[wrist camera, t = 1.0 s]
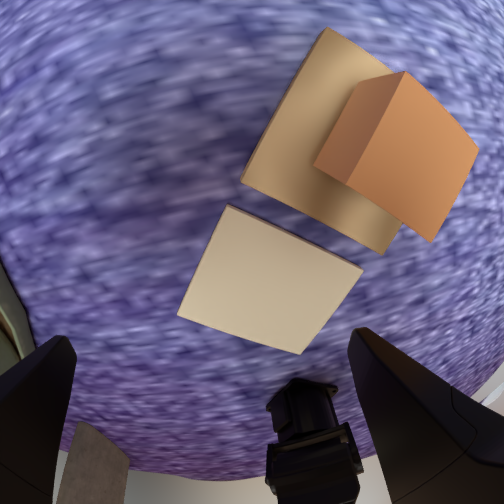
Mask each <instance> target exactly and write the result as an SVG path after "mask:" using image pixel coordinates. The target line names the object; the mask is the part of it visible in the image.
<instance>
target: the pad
mask: <svg viewBox="0 0 504 504" xmlns="http://www.w3.org/2000/svg"><path fill="white" fill-rule="evenodd" d="M362 273H363V269H362V268H361V267H359V266H357V265H355V264H353V263H351V262H349V261H347V260H345V259H343V258H341V257H339V256H337V255H335V254H333V253H331V252H329V251H327V250H325V249H323V248H321V247H319V246H317V245H315V244H313V243H311V242H309V241H306V240H304V239H302V238H300V237H298V236H296V235H294V234H292V233H290V232H288V231H285V230H283V229H281V228H279V227H277V226H275V225H273V224H270V223H268V222H266V221H264V220H262V219H260V218H258V217H255V216H253V215H251V214H249V213H247V212H244V211H242V210H240V209H238V208H236V207H233V206H231V205H229V204H227V205H226V207H225V209H224V211H223V213H222V215H221V217H220V219H219V221H218V224H217V226H216V228H215V230H214V232H213V234H212V236H211V238H210V240H209V243H208V245H207V247H206V249H205V251H204V253H203V255H202V258H201V260H200V262H199V264H198V266H197V268H196V271H195V273H194V275H193V277H192V280H191V282H190V284H189V286H188V288H187V291H186V293H185V295H184V298H183V300H182V302H181V304H180V307H179V309H178V312H177V315H178V316H181V317H184V318H186V319H189V320H192V321H194V322H197V323H200V324H203V325H206V326H208V327H211V328H214V329H217V330H220V331H223V332H226V333H229V334H232V335H235V336H238V337H241V338H244V339H248V340H251V341H254V342H257V343H261V344H264V345H267V346H271V347H274V348H278V349H281V350H285V351H288V352H292V353H296V354H299V355H300V354H301V353H302V352H303V351H304V349H305V348H306V347H307V346H308V345H309V343H310V342H311V341H312V340H313V338H314V337H315V336H316V335H317V333H318V332H319V331H320V330H321V328H322V327H323V326H324V325H325V323H326V322H327V321H328V319H329V318H330V317H331V316H332V314H333V313H334V312H335V310H336V309H337V308H338V306H339V305H340V304H341V302H342V301H343V299H344V298H345V297H346V295H347V294H348V293H349V291H350V290H351V288H352V287H353V286H354V284H355V283H356V281H357V280H358V279H359V277H360V276H361V274H362Z"/></svg>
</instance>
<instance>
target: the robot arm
mask: <svg viewBox="0 0 504 504" xmlns="http://www.w3.org/2000/svg"><path fill="white" fill-rule="evenodd" d="M347 352H348V358H349V362H350V366H351V370H352V374H353V379H354V383H355V387H356V392H357V396H358V399H359V402H360V405H361V408H362V410H363V413H364V416H365V419H366V422H367V425H368V428H369V431H370V434H371V437H372V440H373V443H374V446H375V449H376V452H377V455H378V458H379V461H380V465H381V468H382V471H383V475H384V478H385V481H386V485H387V488H388V492H389V495H390V498H391V502H392V504H504V416H502V415H500V414H498V413H496V412H494V411H493V410H491V409H489V408H487V407H485V406H483V405H482V404H480V403H478V402H476V401H474V400H473V399H471V398H470V397H468V396H467V395H465V394H464V393H462V392H461V391H459V390H458V389H456V388H455V387H453V386H450V384H449V383H447V382H446V381H444V380H443V379H442V378H440V377H439V376H437V375H436V374H434V373H433V372H431V371H430V370H428V369H427V368H426V367H424V366H423V365H421V364H420V363H418V362H417V361H415V360H414V359H412V358H411V357H409V356H408V355H407V354H405V353H404V352H402V351H401V350H399V349H398V348H396V347H395V346H393V345H392V344H390V343H389V342H388V341H386V340H385V339H383V338H382V337H380V336H379V335H377V334H376V333H374V332H373V331H371V330H370V329H369V328H367V327H361V328H355V329H353V331H352V333H351V337H350V341H349V345H348V350H347ZM76 362H77V355H76V352H75V351H74V349H73V347H72V345H71V343H70V341H69V339H68V338H67V337H66V336H62V335H56V336H54V337H53V338H51V339H50V340H48V341H47V342H45V343H44V344H43V345H41V346H40V347H38V348H37V349H36V350H34V351H33V352H32V353H30V354H29V355H27V356H26V357H25V358H23V359H22V360H21V361H19V362H18V363H16V364H15V365H14V366H12V367H11V368H10V369H8V370H7V371H6V372H4V373H3V374H2V375H0V504H52V502H53V501H52V500H53V489H54V479H55V472H56V465H57V458H58V452H59V446H60V441H61V436H62V431H63V426H64V422H65V417H66V413H67V409H68V405H69V400H70V395H71V390H72V384H73V378H74V372H75V367H76ZM337 392H338V387H337V386H332V385H326V384H321V383H315V382H310V381H305V380H300V379H293V380H292V381H291V382H290V383H289V384H288V385H287V386H286V387H285V388H284V389H283V390H282V391H281V392H280V393H279V394H278V395H277V396H276V397H275V398H274V399H273V400H272V401H271V402H270V403H269V404H268V405H267V406H266V411H268V412H271V415H272V422H273V429H274V432H275V433H277V434H278V441H279V443H275V444H273V443H272V444H268V450H267V459H266V477H265V483H266V484H267V485H269V486H270V489H271V491H272V493H273V494H274V495H276V496H277V499H278V504H355V502H356V500H357V497H358V494H359V491H360V484H359V481H358V477H357V475H358V474H361V473H363V472H364V470H363V466H362V462H361V459H360V455H359V452H358V449H357V446H356V443H355V440H354V437H353V435H352V432H351V429H350V426H349V423H348V422H345V423H343V424H341V425H339V423H338V420H337V416H336V413H335V410H334V407H333V404H332V401H331V397H333V396H334V395H335V394H336V393H337ZM347 442H348V443H347Z"/></svg>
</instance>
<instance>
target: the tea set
mask: <svg viewBox="0 0 504 504" xmlns="http://www.w3.org/2000/svg"><path fill="white" fill-rule="evenodd" d="M34 350H36V349H35V346H34V343H33V339H32V336H31V332H30V329H29V325H28V321H27V317H26V312H25V310H24V308H23V307H22V305H21V303H20V301H19V299H18V298H17V296H16V294H15V292H14V290H13V288H12V286H11V284H10V282H9V280H8V278H7V276H6V274H5V272H4V270H3V268H2V265H1V263H0V375H2V374H3V373H4V372H6V371H7V370H8V369H10V368H11V367H12V366H14V365H15V364H16V363H18V362H19V361H21V360H22V359H23V358H25V357H26V356H27V355H29V354H30V353H32V352H33V351H34Z"/></svg>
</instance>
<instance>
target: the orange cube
mask: <svg viewBox="0 0 504 504" xmlns="http://www.w3.org/2000/svg"><path fill="white" fill-rule="evenodd" d="M478 151H479V148H478V147H477V145H476V144H475V143H474V141H473V140H472V139H471V138H470V136H469V135H468V134H467V133H466V132H465V130H464V129H463V128H462V127H461V126H460V125H459V123H458V122H457V121H456V120H455V119H454V118H453V117H452V115H451V114H450V113H449V112H448V111H447V110H446V109H445V108H444V107H443V106H442V105H441V104H440V103H439V102H438V101H437V100H436V99H435V98H434V97H433V96H432V95H431V94H430V93H429V92H428V91H427V90H426V89H425V88H424V87H423V86H422V85H421V84H420V83H419V82H418V81H416V80H415V79H414V78H413V77H412V76H411V75H410V74H409V73H407V72H406V71H403V72H398V73H393V74H388V75H384V76H379V77H375V78H371V79H367V80H363V81H359V82H358V84H357V86H356V88H355V89H354V91H353V93H352V95H351V97H350V99H349V100H348V102H347V104H346V106H345V108H344V110H343V111H342V113H341V115H340V117H339V119H338V121H337V122H336V124H335V126H334V128H333V130H332V132H331V133H330V135H329V137H328V139H327V141H326V142H325V144H324V146H323V148H322V150H321V152H320V153H319V155H318V157H317V159H316V161H315V162H314V164H313V166H314V167H316V168H318V169H320V170H321V171H323V172H325V173H326V174H328V175H330V176H332V177H333V178H335V179H337V180H338V181H340V182H342V183H343V184H345V185H346V186H348V187H350V188H351V189H353V190H354V191H356V192H358V193H359V194H361V195H362V196H364V197H365V198H367V199H368V200H370V201H372V202H373V203H375V204H376V205H378V206H379V207H381V208H382V209H383V210H385V211H386V212H388V213H389V214H391V215H392V216H394V217H395V218H397V219H398V220H400V221H401V222H402V223H404V224H405V225H407V226H408V227H409V228H411V229H412V230H414V231H415V232H416V233H418V234H419V235H420V236H422V237H423V238H424V239H426V240H427V241H428V242H430V243H431V242H432V240H433V239H434V237H435V235H436V234H437V232H438V230H439V229H440V227H441V225H442V224H443V222H444V220H445V218H446V217H447V215H448V213H449V211H450V209H451V207H452V206H453V204H454V202H455V200H456V198H457V196H458V194H459V192H460V190H461V188H462V186H463V184H464V182H465V180H466V178H467V176H468V174H469V172H470V169H471V167H472V165H473V163H474V161H475V158H476V156H477V154H478Z"/></svg>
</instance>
